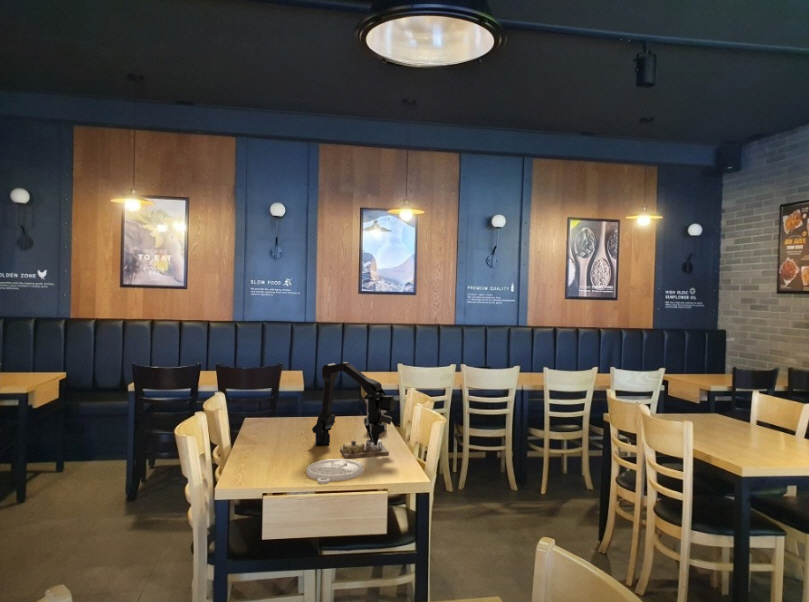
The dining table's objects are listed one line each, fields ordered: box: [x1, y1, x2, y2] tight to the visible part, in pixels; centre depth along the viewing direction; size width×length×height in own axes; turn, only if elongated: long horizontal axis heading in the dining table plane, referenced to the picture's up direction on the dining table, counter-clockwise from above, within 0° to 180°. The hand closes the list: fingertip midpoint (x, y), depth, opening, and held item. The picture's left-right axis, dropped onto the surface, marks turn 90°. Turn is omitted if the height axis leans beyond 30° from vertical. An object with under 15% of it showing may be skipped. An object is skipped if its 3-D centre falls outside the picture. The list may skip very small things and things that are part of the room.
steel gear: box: [365, 438, 383, 451], centre depth 265 cm, size 7×7×4 cm
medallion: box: [305, 458, 364, 485], centre depth 234 cm, size 24×27×2 cm
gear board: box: [340, 440, 390, 459], centre depth 264 cm, size 20×14×6 cm
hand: (373, 442), depth 265 cm, fingers open, 8 cm apart
